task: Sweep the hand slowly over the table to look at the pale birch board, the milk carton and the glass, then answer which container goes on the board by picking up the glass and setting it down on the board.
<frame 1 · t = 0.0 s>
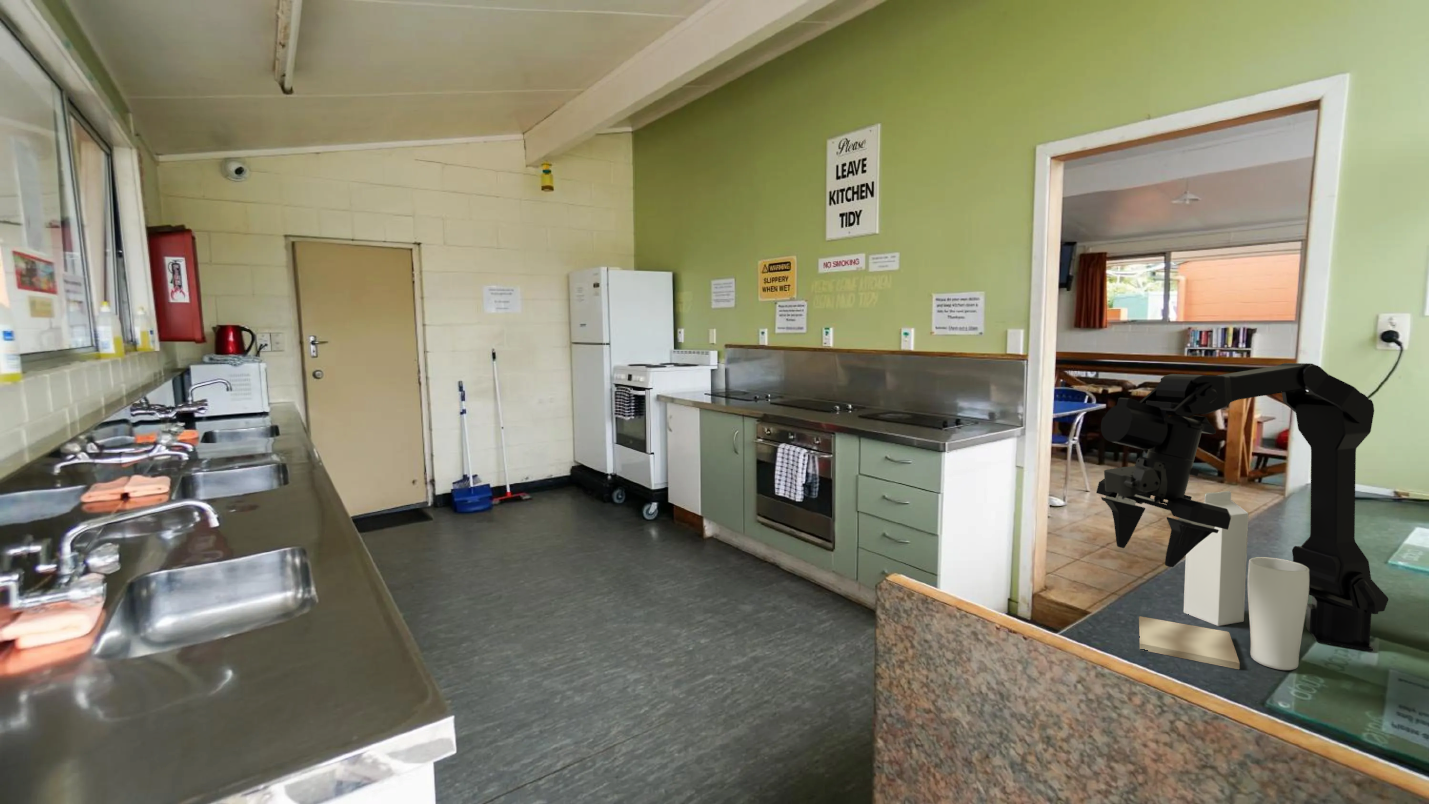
hand: (1143, 556, 95), 15 cm above the counter, tool pointing down, fingers open, 9 cm apart
birch board: (1185, 643, 100), on the counter
milk: (1213, 618, 110), on the counter
drinking glass: (1273, 664, 94), on the counter
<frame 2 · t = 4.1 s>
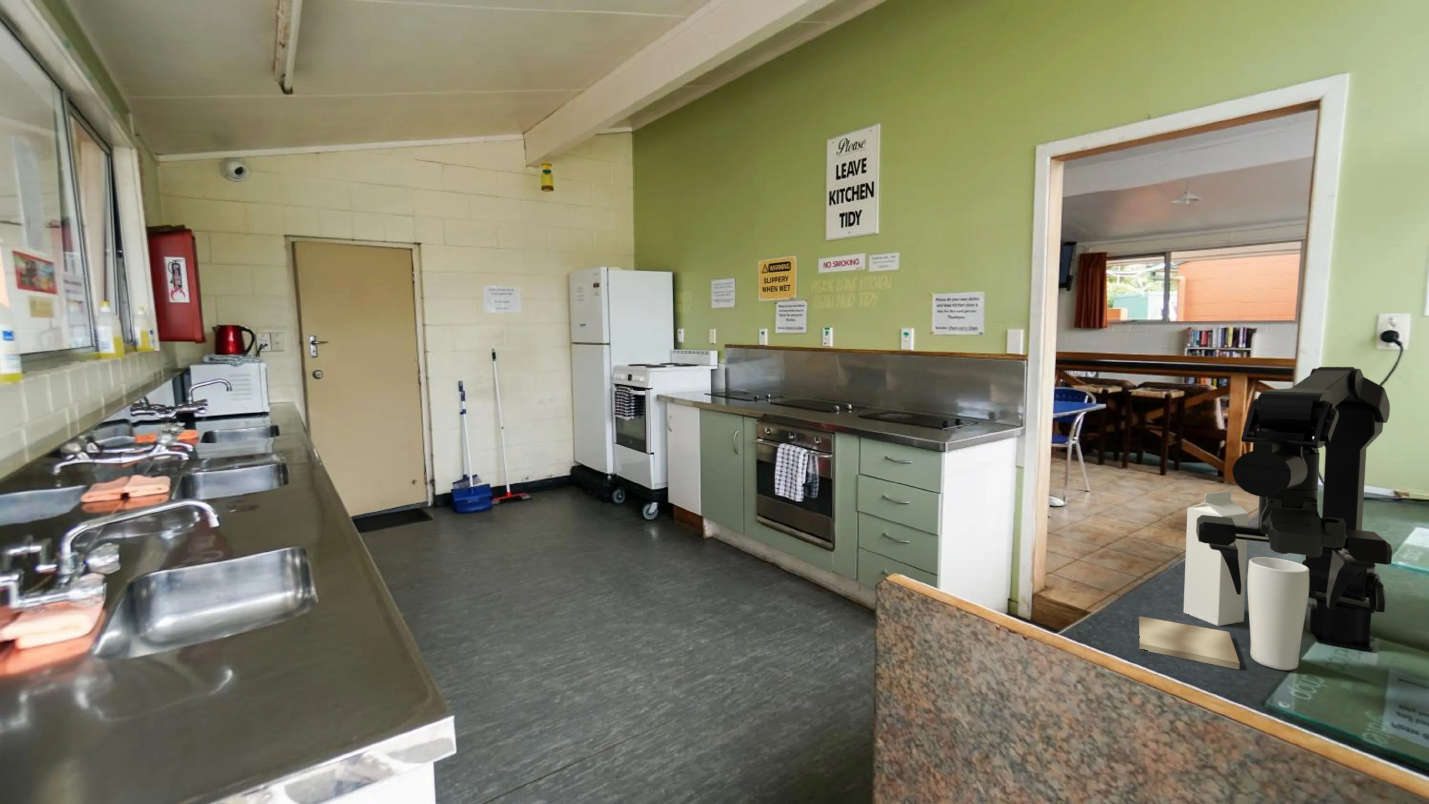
hand: (1282, 600, 85), 13 cm above the counter, tool pointing down, fingers open, 9 cm apart
nothing on the counter moved.
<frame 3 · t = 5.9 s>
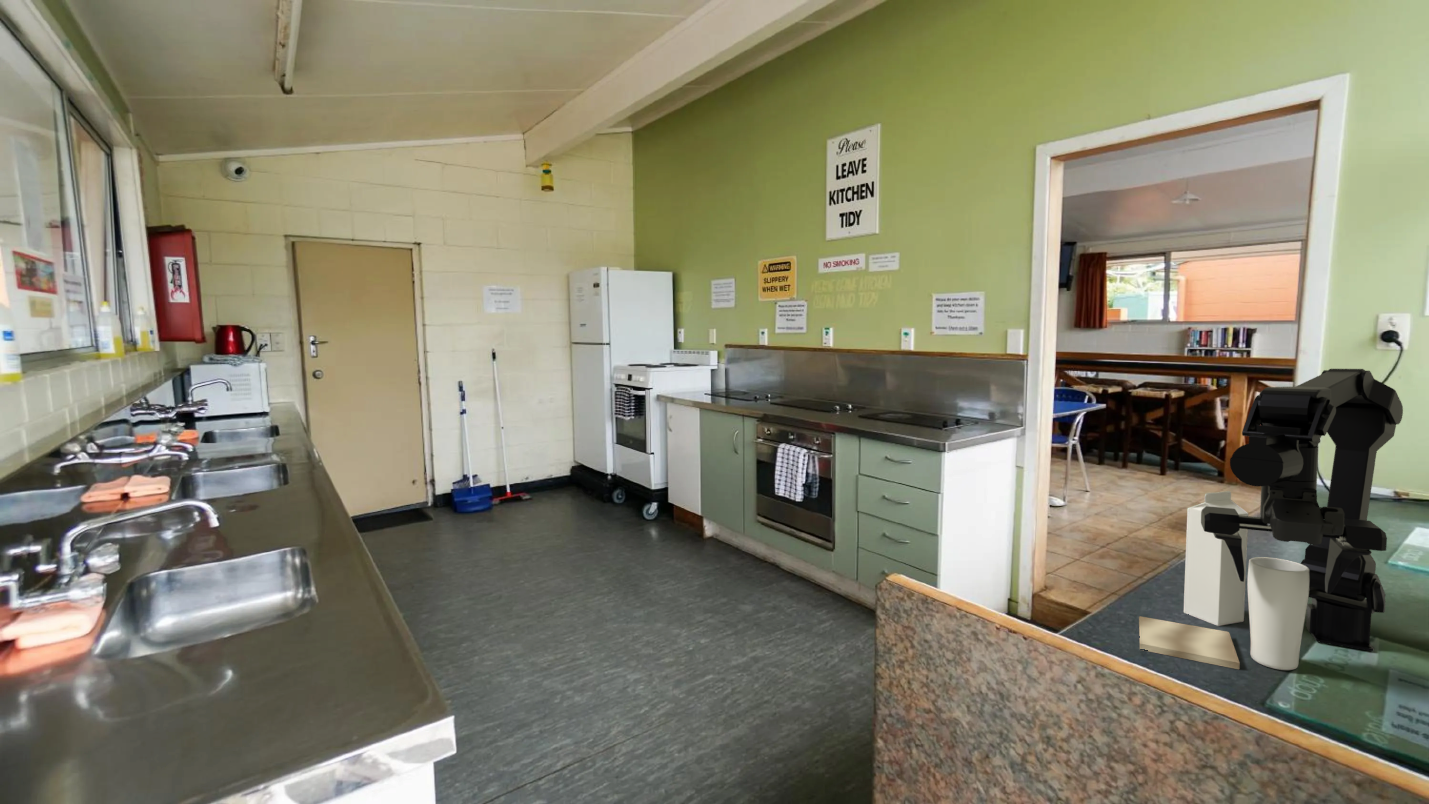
hand: (1283, 586, 89), 13 cm above the counter, tool pointing down, fingers open, 9 cm apart
nothing on the counter moved.
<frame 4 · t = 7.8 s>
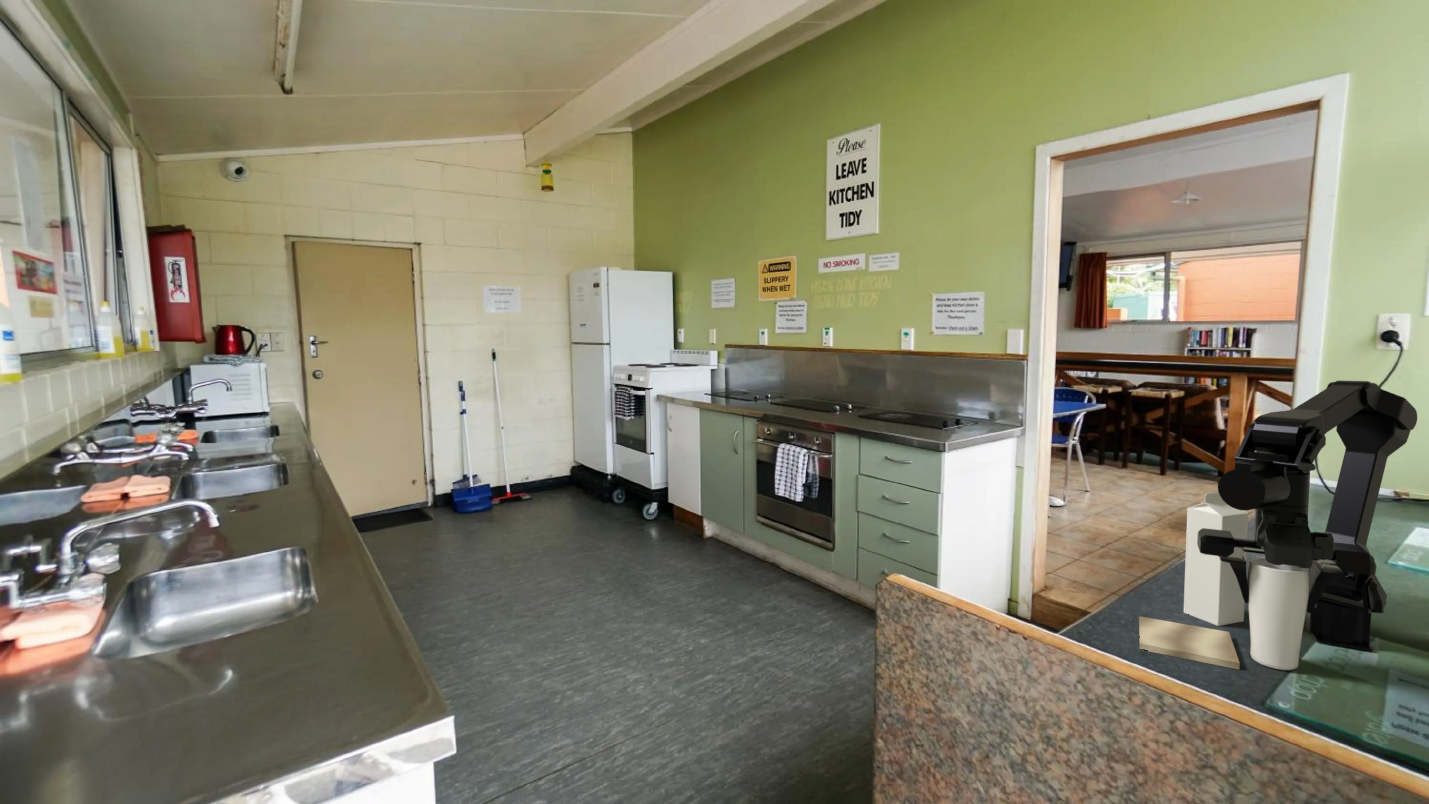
hand: (1276, 606, 93), 9 cm above the counter, tool pointing down, fingers closed on drinking glass, 7 cm apart
drinking glass: (1273, 664, 94), on the counter, touching gripper
everything else where it was.
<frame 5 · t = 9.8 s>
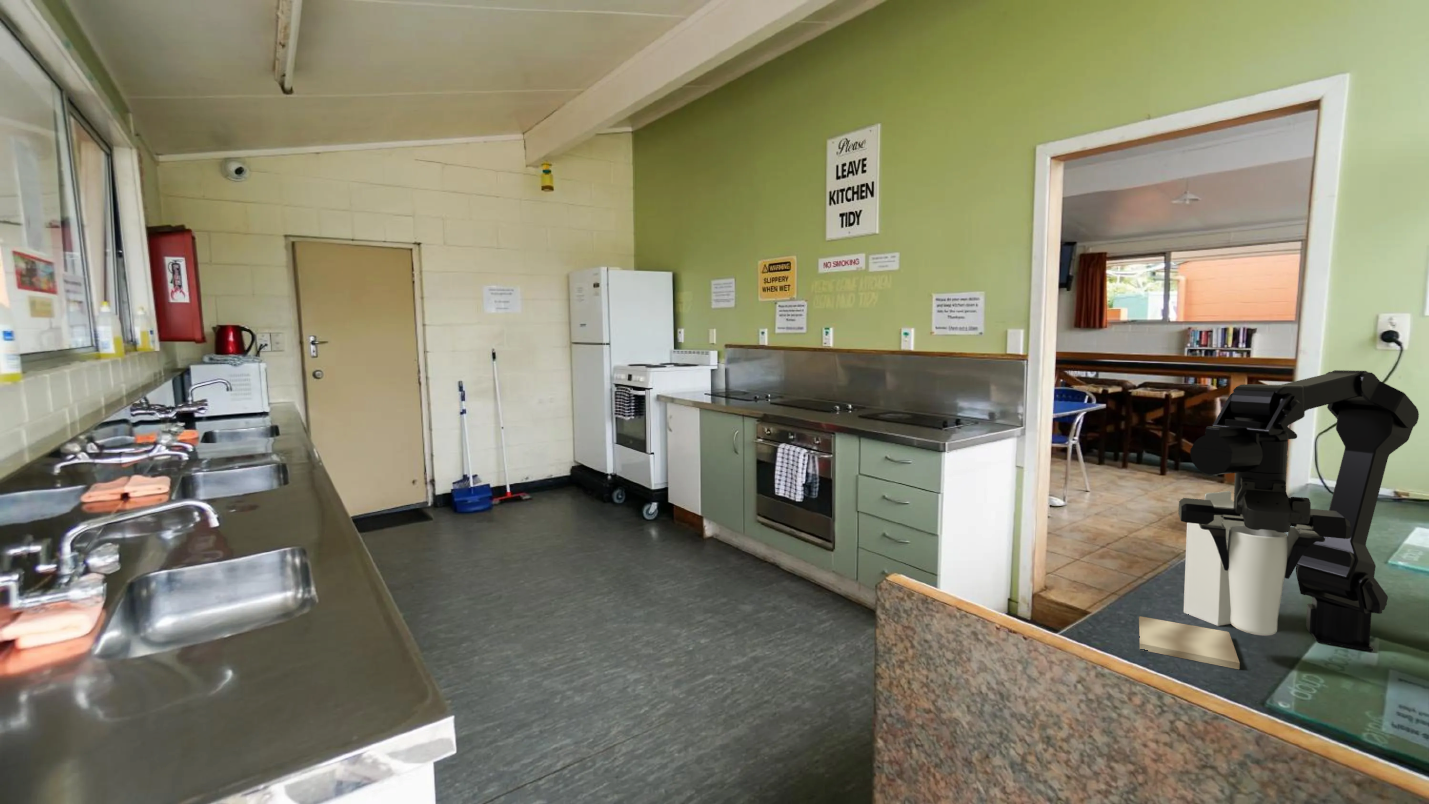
hand: (1255, 573, 94), 13 cm above the counter, tool pointing down, fingers closed on drinking glass, 6 cm apart
drinking glass: (1253, 630, 95), point 4 cm above the counter, touching gripper
everything else where it was.
when the fingers open (10 cm above the counter, at t = 11.7 s): drinking glass stays where it is, resting on birch board.
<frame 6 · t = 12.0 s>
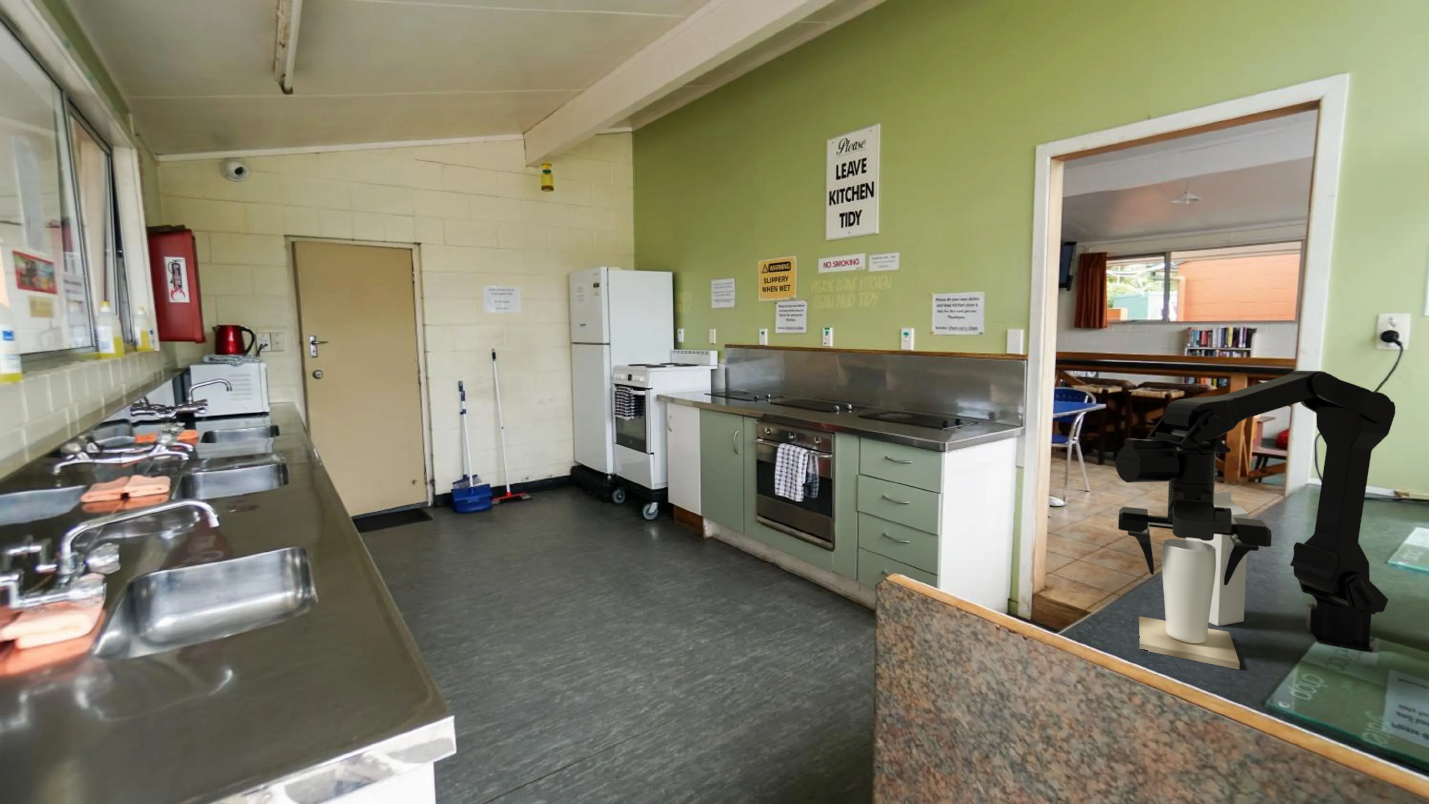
hand: (1187, 579, 99), 10 cm above the counter, tool pointing down, fingers open, 9 cm apart
drinking glass: (1185, 638, 100), point 1 cm above the counter, touching birch board
everything else where it was.
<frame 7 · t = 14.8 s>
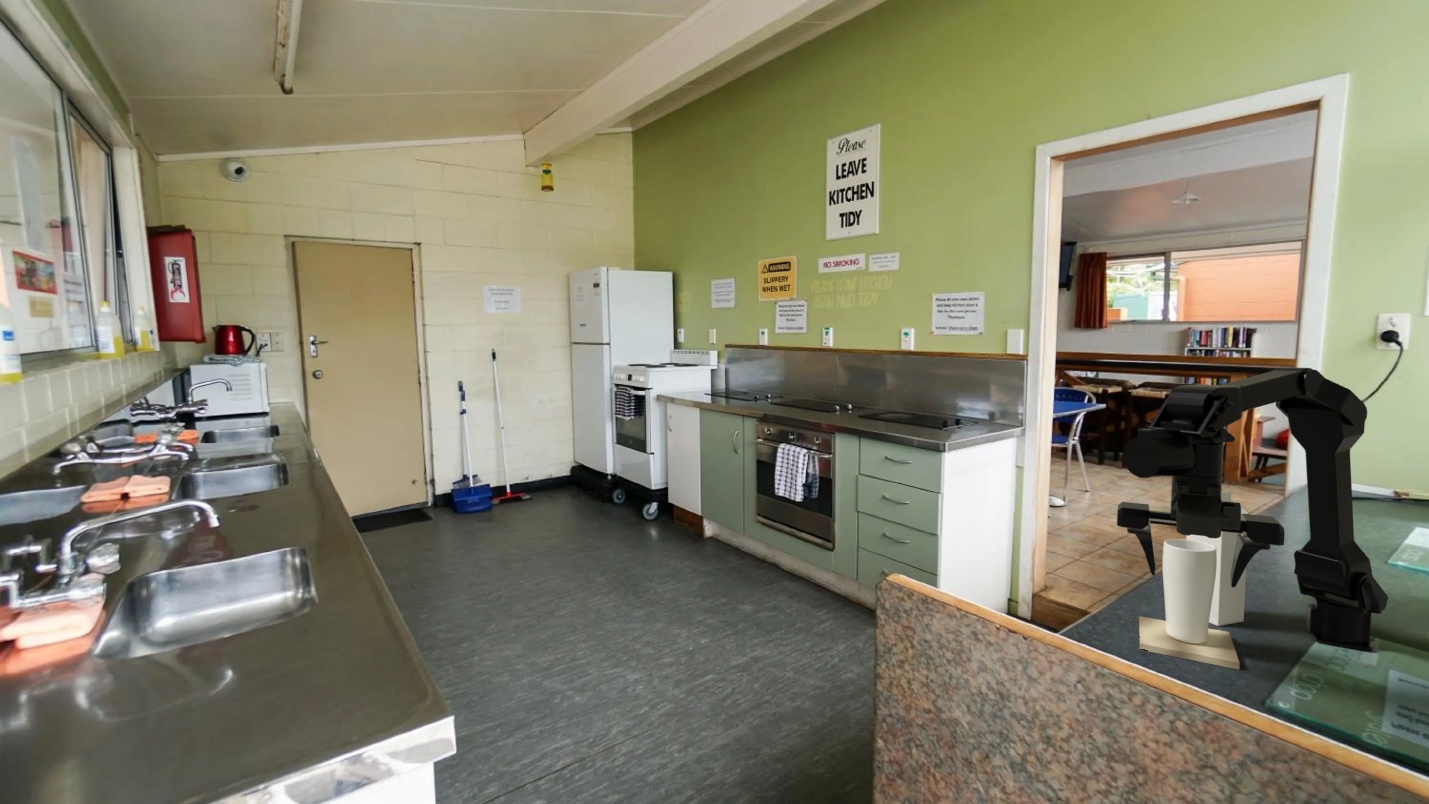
hand: (1191, 580, 91), 13 cm above the counter, tool pointing down, fingers open, 9 cm apart
nothing on the counter moved.
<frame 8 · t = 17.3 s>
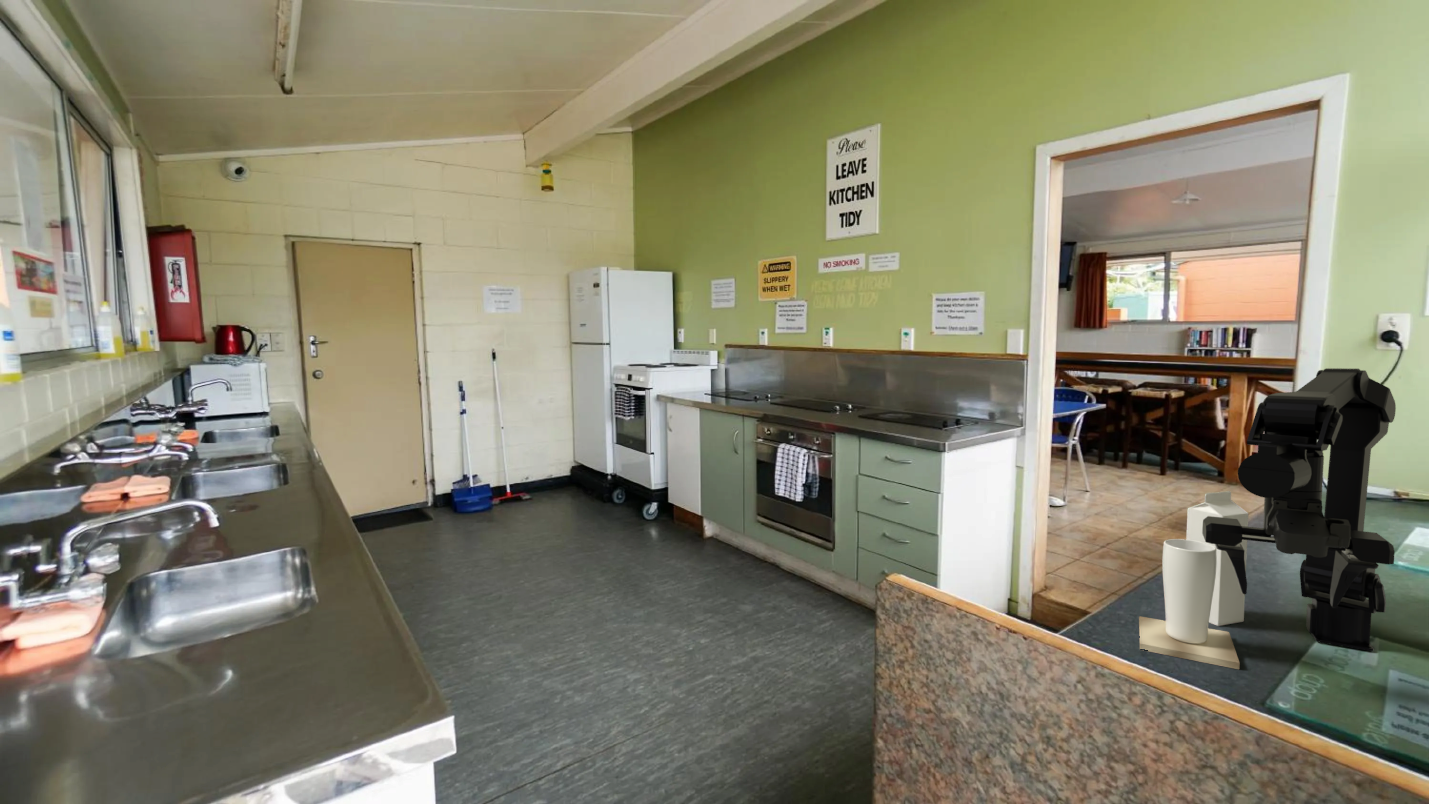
hand: (1287, 599, 87), 12 cm above the counter, tool pointing down, fingers open, 9 cm apart
nothing on the counter moved.
at the end: drinking glass inside the target area on the birch board (0.1 cm from its centre), point 0.8 cm above the birch board's base; drinking glass tilted 0°; the gripper is holding nothing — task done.
